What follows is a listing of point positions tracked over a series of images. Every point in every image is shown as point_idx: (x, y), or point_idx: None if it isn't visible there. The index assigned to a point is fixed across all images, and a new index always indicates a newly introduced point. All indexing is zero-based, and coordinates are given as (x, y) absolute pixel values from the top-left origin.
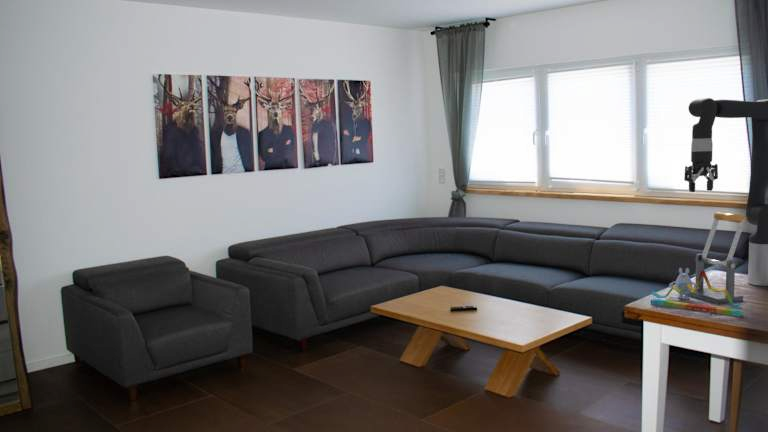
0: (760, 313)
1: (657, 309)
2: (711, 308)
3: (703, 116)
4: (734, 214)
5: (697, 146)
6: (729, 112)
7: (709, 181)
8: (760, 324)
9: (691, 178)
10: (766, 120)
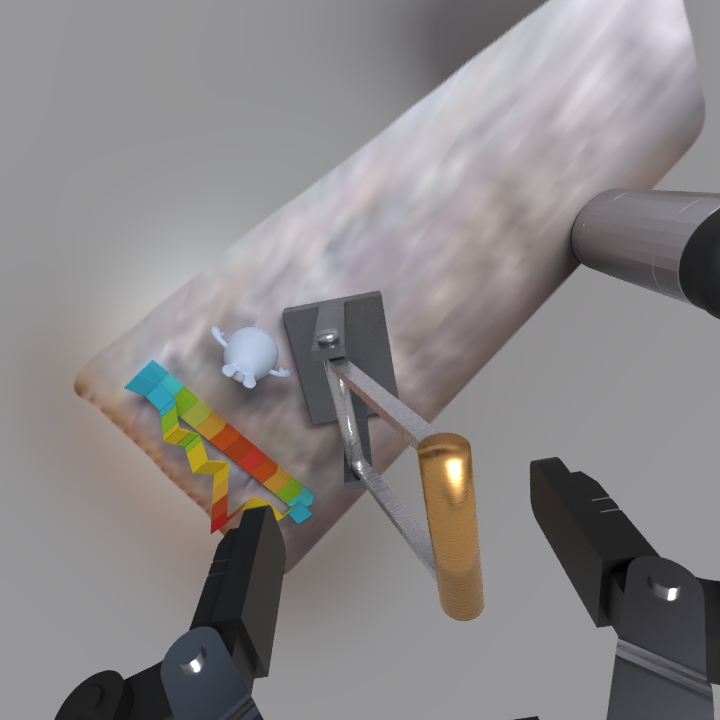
0: (359, 495)
1: (139, 420)
2: (255, 477)
3: None
4: (458, 576)
5: None
6: None
7: (595, 600)
8: (305, 552)
9: (219, 711)
10: None
